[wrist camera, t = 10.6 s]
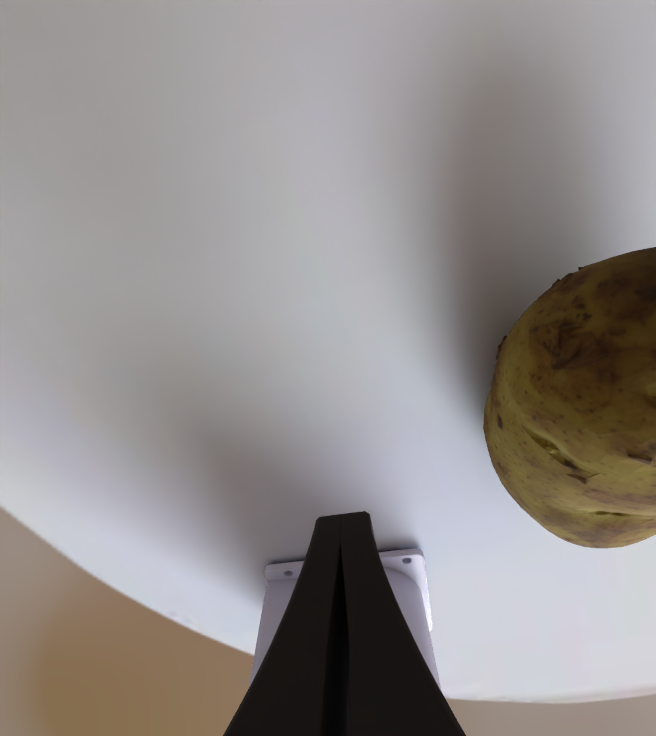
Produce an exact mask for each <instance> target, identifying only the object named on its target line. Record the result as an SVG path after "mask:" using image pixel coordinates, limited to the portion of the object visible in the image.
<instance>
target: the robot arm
mask: <svg viewBox="0 0 656 736" xmlns="http://www.w3.org/2000/svg"><path fill="white" fill-rule="evenodd" d="M264 576H265V578H266V581H267V585H266V591H265V597H264V603H263V608H262V614H261V620H260V626H259V632H258V638H257V644H256V650H255V656H254V662H253V667H252V673H251V680H250V685H249V689H248V691H247V693H246V695H245V697H244V699H243V701H242V703H241V704H240V706H239V708H238V710H237V712H236V713H235V715H234V717H233V719H232V721H231V722H230V724H229V726H228V728H227V730H226V731H225V733H224V735H223V736H466V735H465V733H464V731H463V730H462V728H461V726H460V725H459V723H458V721H457V719H456V718H455V716H454V714H453V712H452V710H451V708H450V707H449V705H448V703H447V701H446V699H445V698H444V696H443V694H442V690H441V685H440V680H439V675H438V671H437V666H436V661H435V656H434V651H433V646H432V641H431V636H430V630H431V629H432V627H433V625H432V617H431V609H430V601H429V593H428V585H427V577H426V569H425V561H424V555H423V552H422V551H421V550H420V549H417V548H412V549H403V550H394V551H385V552H378V550H377V547H376V542H375V537H374V532H373V527H372V523H371V518H370V514H369V513H367V512H365V511H363V512H355V513H347V514H339V515H331V516H323V517H319V518H318V519H317V520H316V524H315V528H314V531H313V535H312V538H311V542H310V545H309V548H308V551H307V554H306V557H305V560H304V561H296V562H288V563H279V564H271V565H268V566H266V567H265V570H264Z"/></svg>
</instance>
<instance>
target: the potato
mask: <svg viewBox="0 0 656 736" xmlns="http://www.w3.org/2000/svg"><path fill="white" fill-rule="evenodd" d="M578 268H579V271H578V272H575V273H569V274H568V275H566V276H565V277H564V278H562V279H561V280H559V279H558V280H557V281H556V282H555V283H554V284H553V285H552V287H551V288H550V289H549V290H547V291H546V292H545V293H544V294H542V295H541V296H540V297H539V298H538V299H537V300H536V301H535V302H534V303H533V304H532V305H531V306H530V307H529V308H528V309H527V310H526V311H525V312H524V314H523V315H522V316H521V318H520V319H519V320H518V321H517V323H516V324H515V326H514V327H513V328H512V330H511V331H510V333H509V335H508V336H505V337H504V339H503V340H502V342H501V343H500V344H499V345H498V352H497V357H496V359H497V362H496V366H495V371H494V375H493V379H492V385H491V390H490V392H489V394H488V398H487V402H486V406H485V412H484V427H483V429H484V433H485V439H486V443H487V447H488V451H489V454H490V458H491V461H492V464H493V467H494V469H495V471H496V473H497V475H498V477H499V479H500V481H501V483H502V484H503V486H504V487H505V489H506V490H507V491H508V493H509V494H510V495H511V496H512V498H513V499H514V500H515V501H516V502H517V503H518V504H519V506H520V507H521V508H522V509H523V510H525V511H526V512H527V513H528V514H529V515H530V516H531V517H532V518H533V519H534V520H536V521H537V522H538V523H539V524H540V525H541V526H543V527H544V528H545V529H547V530H548V531H549V532H551V533H553V534H554V535H556V536H557V537H559V538H561V539H563V540H565V541H567V542H570V543H573V544H576V545H580V546H584V547H591V548H615V547H623V546H627V545H631V544H634V543H637V542H639V541H642V540H645V539H647V538H649V537H651V536H653V535H655V534H656V247H654V248H648V249H643V250H637V251H632V252H629V253H625V254H622V255H618V256H615V257H612V258H609V259H606V260H603V261H600V262H597V263H594V264H590V265H587V266H585V267H578Z"/></svg>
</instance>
